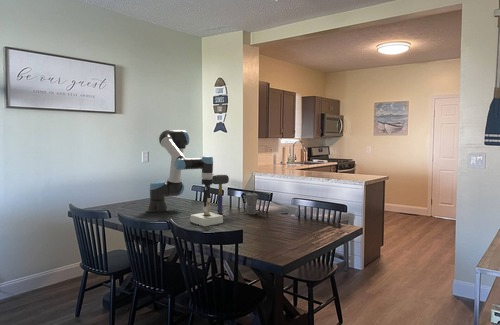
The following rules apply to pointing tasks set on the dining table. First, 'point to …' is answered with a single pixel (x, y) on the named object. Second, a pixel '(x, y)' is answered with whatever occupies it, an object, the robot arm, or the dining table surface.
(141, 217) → the dining table surface
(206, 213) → the beech peg
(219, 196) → the rubber mallet
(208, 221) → the socket block
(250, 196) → the coffeepot
